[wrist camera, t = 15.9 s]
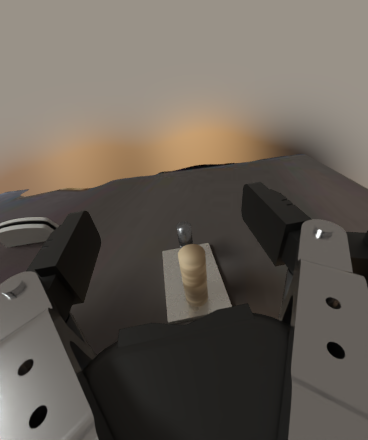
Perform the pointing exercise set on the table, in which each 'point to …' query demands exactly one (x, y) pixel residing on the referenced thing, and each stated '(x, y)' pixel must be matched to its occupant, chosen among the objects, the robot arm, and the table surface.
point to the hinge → (26, 231)
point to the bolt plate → (175, 290)
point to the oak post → (194, 274)
